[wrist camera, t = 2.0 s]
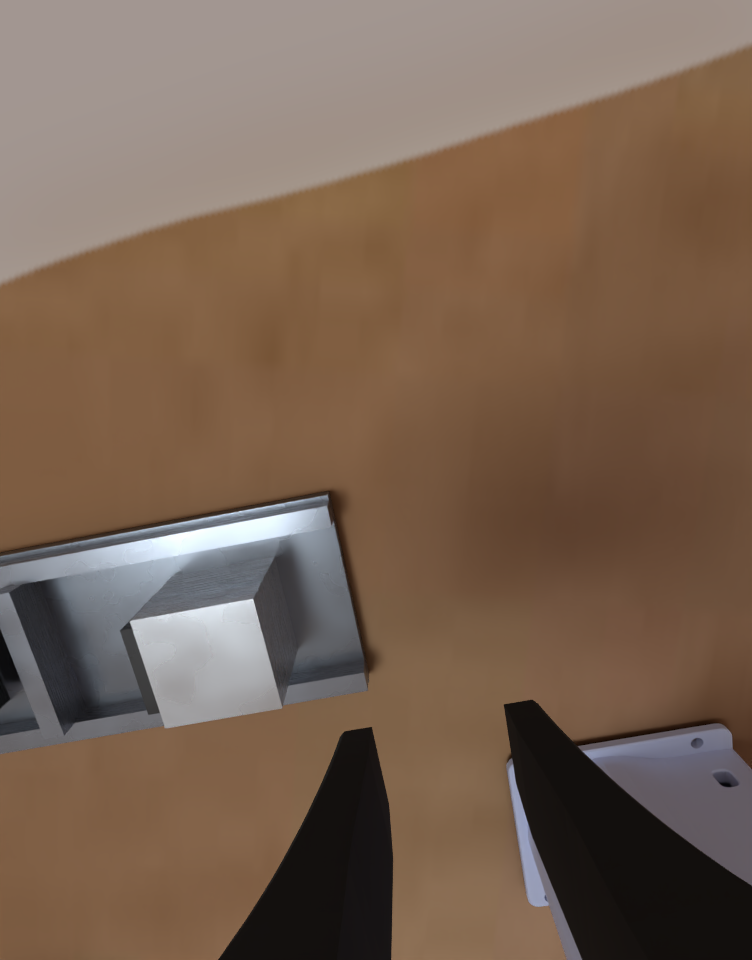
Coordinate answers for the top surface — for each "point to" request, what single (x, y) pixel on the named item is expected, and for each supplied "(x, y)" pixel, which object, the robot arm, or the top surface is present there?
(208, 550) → the rail
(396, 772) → the top surface
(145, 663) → the free white block
